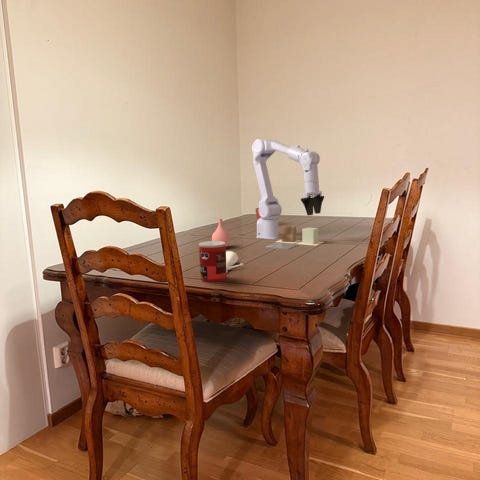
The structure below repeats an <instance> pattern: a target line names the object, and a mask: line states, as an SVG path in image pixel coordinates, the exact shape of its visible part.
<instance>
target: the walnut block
mask: <svg viewBox="0 0 480 480" xmlns="http://www.w3.org/2000/svg"><path fill="white" fill-rule="evenodd" d="M281 236H282V237H281V240H282V242H294V241H296V240H297V226H291V225H289V226H288V225H285V226H281ZM282 242H281V243H282Z"/></svg>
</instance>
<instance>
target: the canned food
mask: <svg viewBox="0 0 480 480" xmlns="http://www.w3.org/2000/svg"><path fill="white" fill-rule="evenodd" d="M226 252H227V246H226V243H225V242H222V241H212V240H207V241H206V240H205V241H201V242H199V243H198V257H199V260H198V261H199V277H200V280H201V281H203V282H207V283H216V282H222V281H226V279H227V274H228V272H227V271H228V270H226Z"/></svg>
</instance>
